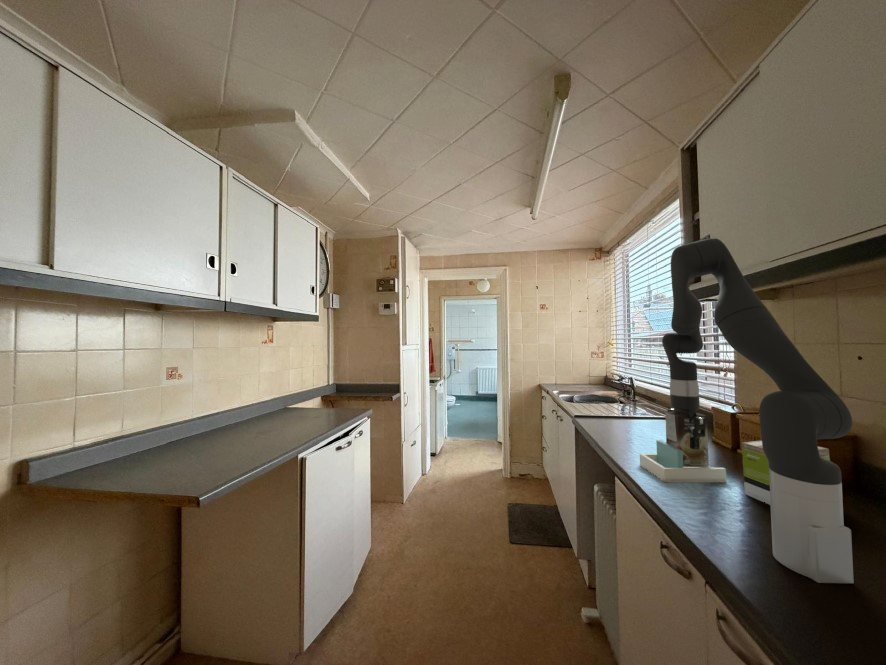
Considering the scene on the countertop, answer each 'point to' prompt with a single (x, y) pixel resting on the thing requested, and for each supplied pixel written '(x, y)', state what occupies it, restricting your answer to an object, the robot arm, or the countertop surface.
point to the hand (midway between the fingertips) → (686, 445)
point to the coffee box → (686, 439)
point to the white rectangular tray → (682, 471)
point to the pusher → (669, 455)
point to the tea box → (761, 470)
